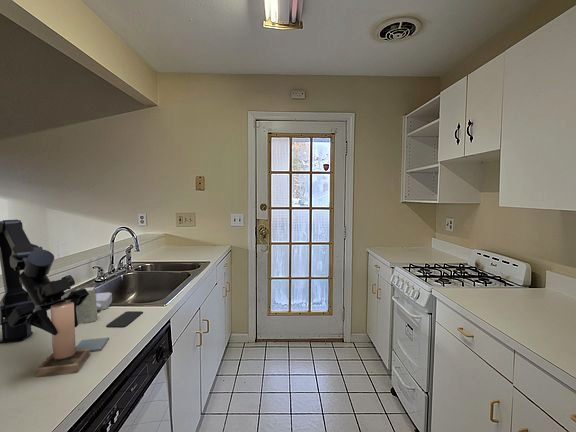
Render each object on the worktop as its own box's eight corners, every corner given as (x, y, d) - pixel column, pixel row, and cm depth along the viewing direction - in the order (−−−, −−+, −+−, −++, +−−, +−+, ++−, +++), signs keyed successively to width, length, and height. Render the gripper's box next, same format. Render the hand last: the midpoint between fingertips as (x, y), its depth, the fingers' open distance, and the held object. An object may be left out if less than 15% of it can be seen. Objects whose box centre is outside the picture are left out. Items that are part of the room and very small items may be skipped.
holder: (36, 377, 83) (35, 369, 82) (53, 359, 92) (53, 352, 92) (77, 372, 85) (77, 365, 85) (90, 355, 94) (90, 348, 94)
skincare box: (97, 317, 123) (96, 286, 122) (94, 321, 119) (93, 289, 118) (78, 319, 121) (77, 288, 120) (74, 324, 117) (73, 291, 116)
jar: (49, 360, 85) (46, 309, 84) (58, 350, 90) (56, 302, 89) (71, 357, 86) (69, 307, 85) (78, 348, 91) (76, 301, 90)
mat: (71, 353, 95) (71, 351, 95) (81, 341, 103) (81, 339, 103) (101, 350, 97) (101, 348, 97) (109, 339, 105) (109, 337, 104)
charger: (76, 317, 124) (88, 304, 138) (103, 314, 126) (112, 302, 141) (76, 305, 123) (88, 294, 138) (103, 303, 126) (111, 292, 140)
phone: (144, 311, 129) (125, 326, 114) (144, 313, 129) (125, 328, 114) (126, 311, 129) (104, 326, 114) (126, 313, 129) (104, 328, 114)
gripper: (12, 276, 79) (43, 326, 76) (83, 261, 97) (111, 301, 93) (-6, 303, 83) (23, 351, 79) (67, 284, 100) (93, 323, 97)
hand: (66, 330), depth 87 cm, fingers closed on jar, 5 cm apart
